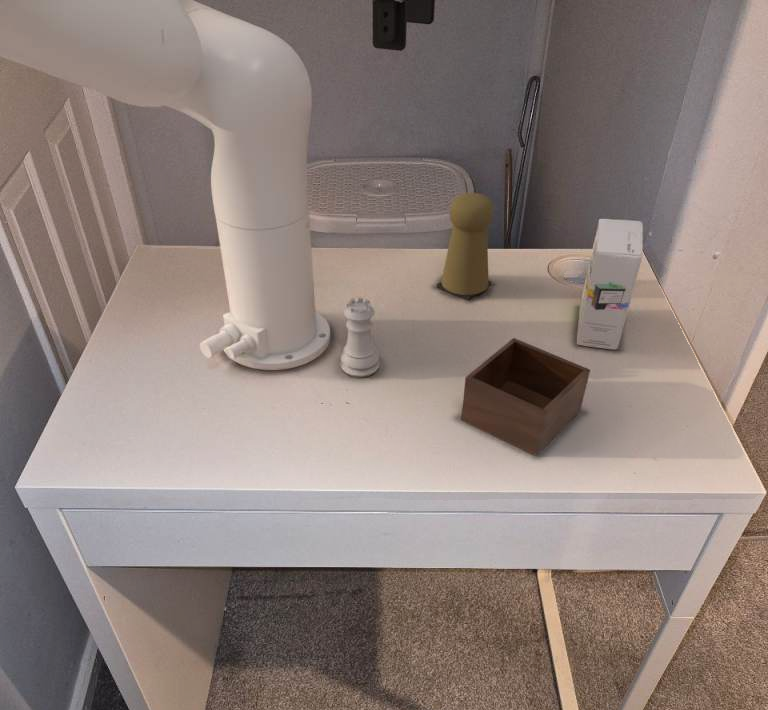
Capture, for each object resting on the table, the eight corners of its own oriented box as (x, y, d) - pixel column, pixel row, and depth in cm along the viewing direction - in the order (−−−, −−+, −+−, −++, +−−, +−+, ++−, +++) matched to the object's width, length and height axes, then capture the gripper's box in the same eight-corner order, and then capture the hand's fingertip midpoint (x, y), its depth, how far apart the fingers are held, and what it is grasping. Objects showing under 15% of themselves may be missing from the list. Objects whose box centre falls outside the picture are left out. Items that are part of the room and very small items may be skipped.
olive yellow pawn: (490, 295, 95) (500, 209, 87) (441, 294, 95) (448, 208, 87) (486, 271, 99) (496, 186, 91) (440, 270, 99) (446, 185, 91)
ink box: (578, 307, 94) (598, 214, 86) (619, 312, 93) (643, 219, 85) (574, 345, 88) (596, 250, 80) (618, 351, 88) (644, 255, 79)
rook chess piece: (385, 360, 86) (385, 296, 80) (372, 382, 83) (372, 318, 77) (347, 352, 87) (345, 289, 81) (334, 374, 84) (331, 310, 78)
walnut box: (536, 456, 75) (544, 413, 71) (460, 419, 79) (465, 377, 75) (580, 412, 80) (590, 369, 76) (507, 379, 84) (513, 337, 80)
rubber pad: (468, 300, 95) (469, 297, 95) (436, 287, 97) (436, 284, 97) (490, 284, 98) (491, 281, 97) (458, 272, 100) (459, 269, 99)
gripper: (399, -206, 70) (395, 10, 83) (331, -192, 59) (338, 55, 71) (477, -203, 69) (462, 17, 81) (424, -189, 57) (415, 64, 70)
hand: (404, 35), depth 76 cm, fingers open, 9 cm apart
